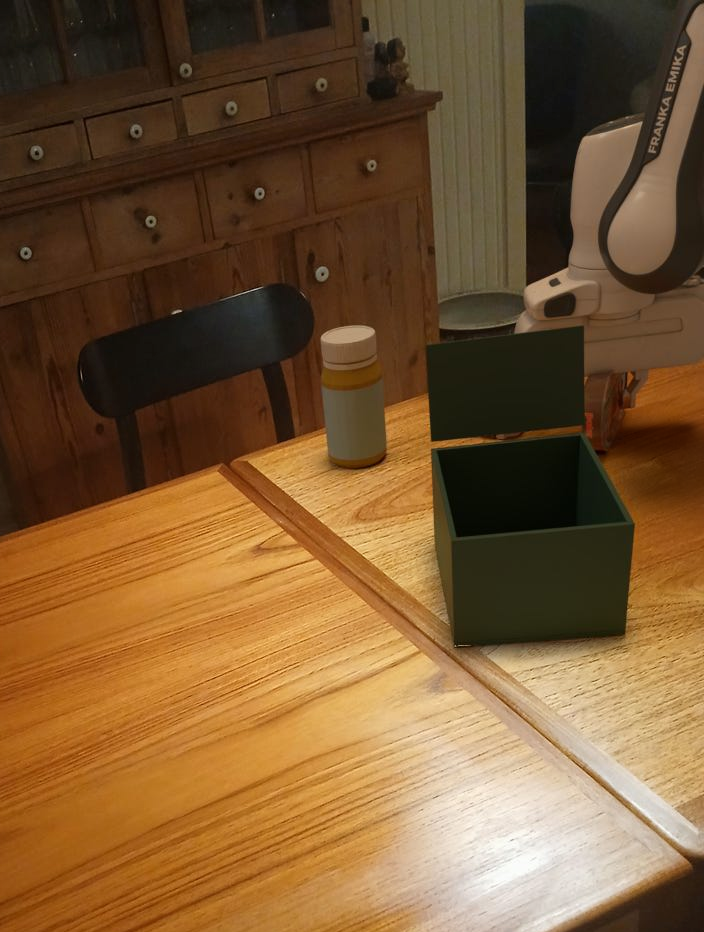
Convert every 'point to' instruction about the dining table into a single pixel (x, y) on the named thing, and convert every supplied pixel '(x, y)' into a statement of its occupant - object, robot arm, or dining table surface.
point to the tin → (603, 408)
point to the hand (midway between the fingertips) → (603, 409)
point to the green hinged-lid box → (530, 541)
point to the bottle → (353, 397)
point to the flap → (506, 384)
